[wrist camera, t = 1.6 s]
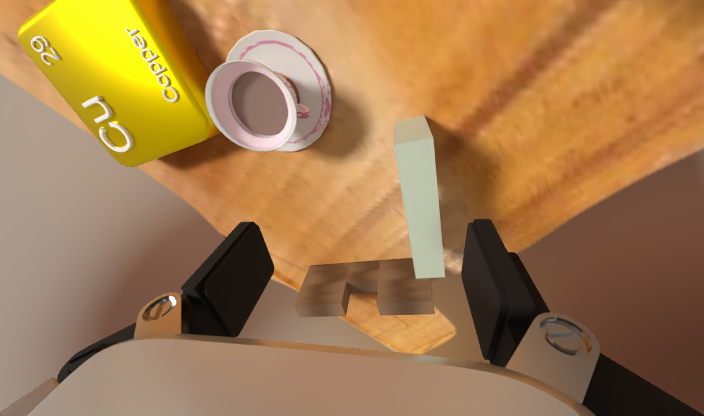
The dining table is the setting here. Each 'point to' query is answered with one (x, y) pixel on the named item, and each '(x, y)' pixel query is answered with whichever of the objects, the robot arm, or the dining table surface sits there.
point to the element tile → (123, 74)
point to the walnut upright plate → (365, 288)
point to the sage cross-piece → (420, 195)
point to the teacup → (269, 93)
